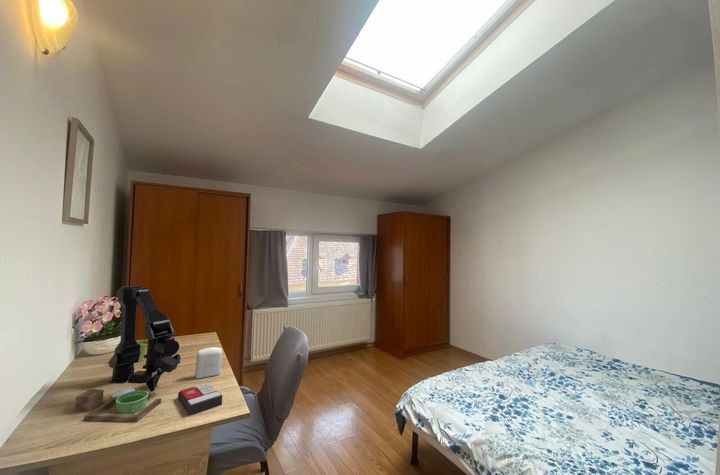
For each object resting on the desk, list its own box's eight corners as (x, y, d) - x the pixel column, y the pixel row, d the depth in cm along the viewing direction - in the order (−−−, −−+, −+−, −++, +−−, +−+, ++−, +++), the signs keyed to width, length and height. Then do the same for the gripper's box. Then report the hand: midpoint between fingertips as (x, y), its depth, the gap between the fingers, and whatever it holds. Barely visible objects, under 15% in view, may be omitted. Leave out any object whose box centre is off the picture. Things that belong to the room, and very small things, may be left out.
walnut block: (74, 411, 95) (75, 396, 95) (88, 403, 100) (89, 389, 100) (89, 411, 95) (90, 396, 96) (102, 403, 100) (103, 389, 101)
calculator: (209, 381, 114) (223, 393, 103) (208, 392, 113) (222, 405, 103) (178, 389, 106) (189, 403, 96) (177, 401, 106) (188, 416, 95)
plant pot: (152, 360, 140) (154, 342, 140) (129, 366, 132) (131, 347, 132) (144, 355, 145) (146, 338, 145) (122, 361, 137) (123, 343, 137)
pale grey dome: (106, 399, 103) (106, 397, 103) (121, 389, 110) (121, 388, 110) (125, 399, 104) (125, 397, 104) (139, 390, 110) (139, 388, 111)
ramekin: (139, 415, 95) (140, 402, 95) (108, 418, 93) (109, 404, 93) (152, 401, 103) (153, 389, 104) (124, 403, 101) (125, 391, 101)
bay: (83, 420, 90) (84, 415, 91) (113, 401, 102) (114, 397, 102) (137, 421, 91) (137, 417, 91) (161, 402, 102) (161, 398, 103)
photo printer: (219, 371, 130) (221, 344, 131) (221, 375, 127) (223, 347, 127) (194, 376, 125) (196, 348, 125) (195, 380, 121) (197, 351, 122)
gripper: (159, 361, 100) (155, 405, 99) (190, 343, 119) (187, 381, 118) (128, 359, 100) (124, 404, 99) (164, 342, 119) (160, 379, 118)
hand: (152, 391), depth 109 cm, fingers closed
